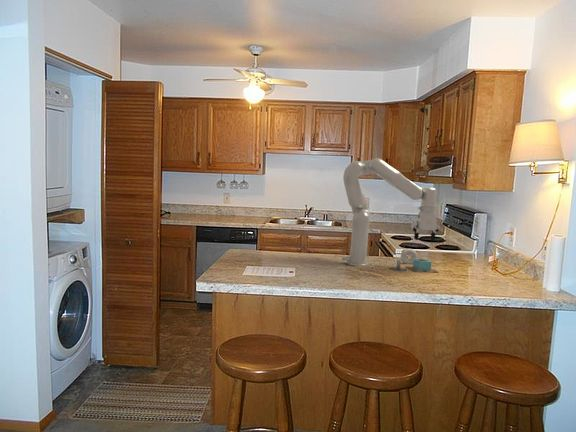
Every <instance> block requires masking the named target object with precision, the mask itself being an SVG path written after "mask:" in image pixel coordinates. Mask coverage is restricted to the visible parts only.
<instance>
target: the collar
mask: <svg viewBox="0 0 576 432" xmlns="http://www.w3.org/2000/svg"><path fill="white" fill-rule="evenodd" d="M420 259H421V258H417V259H414V260H413V264H412V266H413V268H415V269H417V270H425V271H431V269H432V261H431V260H428V259H425V258H424V259H425V261H419V260H420Z"/></svg>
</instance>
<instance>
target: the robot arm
mask: <svg viewBox="0 0 576 432" xmlns="http://www.w3.org/2000/svg"><path fill="white" fill-rule="evenodd" d="M368 175H376V176H377V177H379V178H381V179H382V180H383V181H385V182H386V183H387V184H388V185H390V186H392V187H394V188H396V189H397V190H399V191H400V192H401V193H402V194H404V195H406V196H407V197H408V198H409V199H411V200H413V201H418V200H421V201H420V203H421V204H420V207H419V206H418V210H420V211H418V214H417V217H416V221H415V222H414V223H411V224H410V226H411V227H410V228H411V229H412V231H413V232H414V235H413V236H414V237H413V238H414V240H415V241H418V240H419V235H420V233H419V232H420V231H431V234H430V240H431V241H432V242H434V241H435V239H436V234H437V233H439V230H440V229H441V225H439V224H438V223H437V213H436V212H435V210H436V202H437V189H436V188H435V187H427V186H426V187H421V186H419V185H417V184H415V183H414V181H411V180H410V179H408V178H407V177H406V176H404V175H403V174H402V173H401V171H398V170H397V169H396V168H394V167H393V166H391V165H390V164H388V163H387V162H386V161H384V160H383V159H382V158H379V157H377V158H373V159H369V160H361V161H359V160H354V161H351V162H350V163H349V164H348V165H347V167H346V168H345V170H344V172H343V185H344V188H345V193H346V197H347V201H348V204H349V205H348V206H350V207H351V210H352V214H353V216H352V222H351V235H350V236H351V239H350V240H351V241H350V251H349V255H348V256H341V260H342V261H345V262H346V264H347V265H349V266H353V267H357V266H367V265H369V264H370V263H369V262H367V255H368V244H369V230H370V222H371V213H370V210H369V206H368V203H367V200H366V196H365V195H364V193H363V192H362V189H361V185H360V181H359V176H368Z"/></svg>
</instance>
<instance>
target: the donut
mask: <svg viewBox="0 0 576 432" xmlns="http://www.w3.org/2000/svg"><path fill="white" fill-rule="evenodd" d="M408 255H410V256H411V258H409V259H408V258H407V256H408ZM414 259H419V258H418V254H417V251H416V250H414V249H413V248H405V249H404V250H402V252H401V254H400V260H401V263H403V264H406V265H412V266H413V260H414Z"/></svg>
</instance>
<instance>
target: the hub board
mask: <svg viewBox="0 0 576 432" xmlns="http://www.w3.org/2000/svg"><path fill="white" fill-rule="evenodd" d="M419 259H420V260H419V261H425V258H419ZM405 269H407V270H409V271H412V272H414V273H427V274H428V273H434V274H435V273H437V274H439V271H438V270H436V269H433V268H431V271H425V270H417V269H415V268H413V265H412V266H410V265H409V266H407V265H406V266H405Z"/></svg>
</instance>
